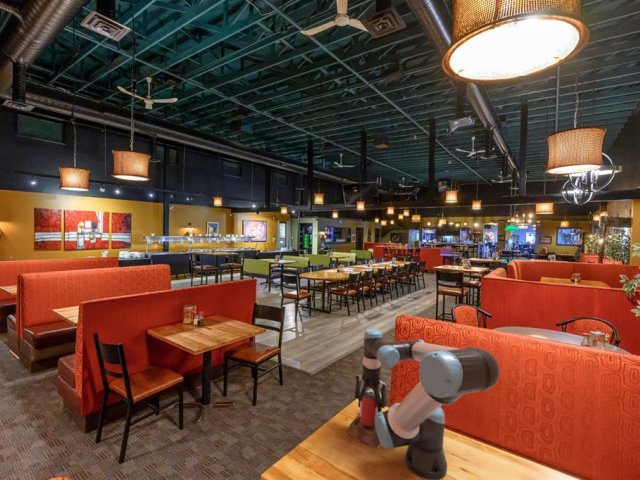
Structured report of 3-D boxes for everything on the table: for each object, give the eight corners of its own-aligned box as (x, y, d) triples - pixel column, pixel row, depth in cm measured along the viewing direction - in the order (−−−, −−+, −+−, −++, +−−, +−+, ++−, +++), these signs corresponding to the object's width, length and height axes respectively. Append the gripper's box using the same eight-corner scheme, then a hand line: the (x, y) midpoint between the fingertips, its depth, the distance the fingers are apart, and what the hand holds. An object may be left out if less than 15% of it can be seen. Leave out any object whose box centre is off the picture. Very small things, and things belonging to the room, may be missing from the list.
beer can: (376, 428, 132) (377, 400, 132) (360, 426, 134) (361, 398, 133) (376, 419, 139) (378, 392, 138) (361, 417, 140) (362, 390, 140)
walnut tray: (388, 432, 139) (389, 420, 138) (376, 449, 128) (377, 436, 128) (361, 421, 146) (362, 410, 146) (348, 436, 135) (348, 424, 135)
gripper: (396, 368, 133) (394, 422, 134) (355, 356, 144) (353, 406, 145) (390, 375, 127) (387, 431, 128) (347, 362, 138) (345, 414, 139)
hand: (369, 417), depth 137 cm, fingers closed on beer can, 6 cm apart
